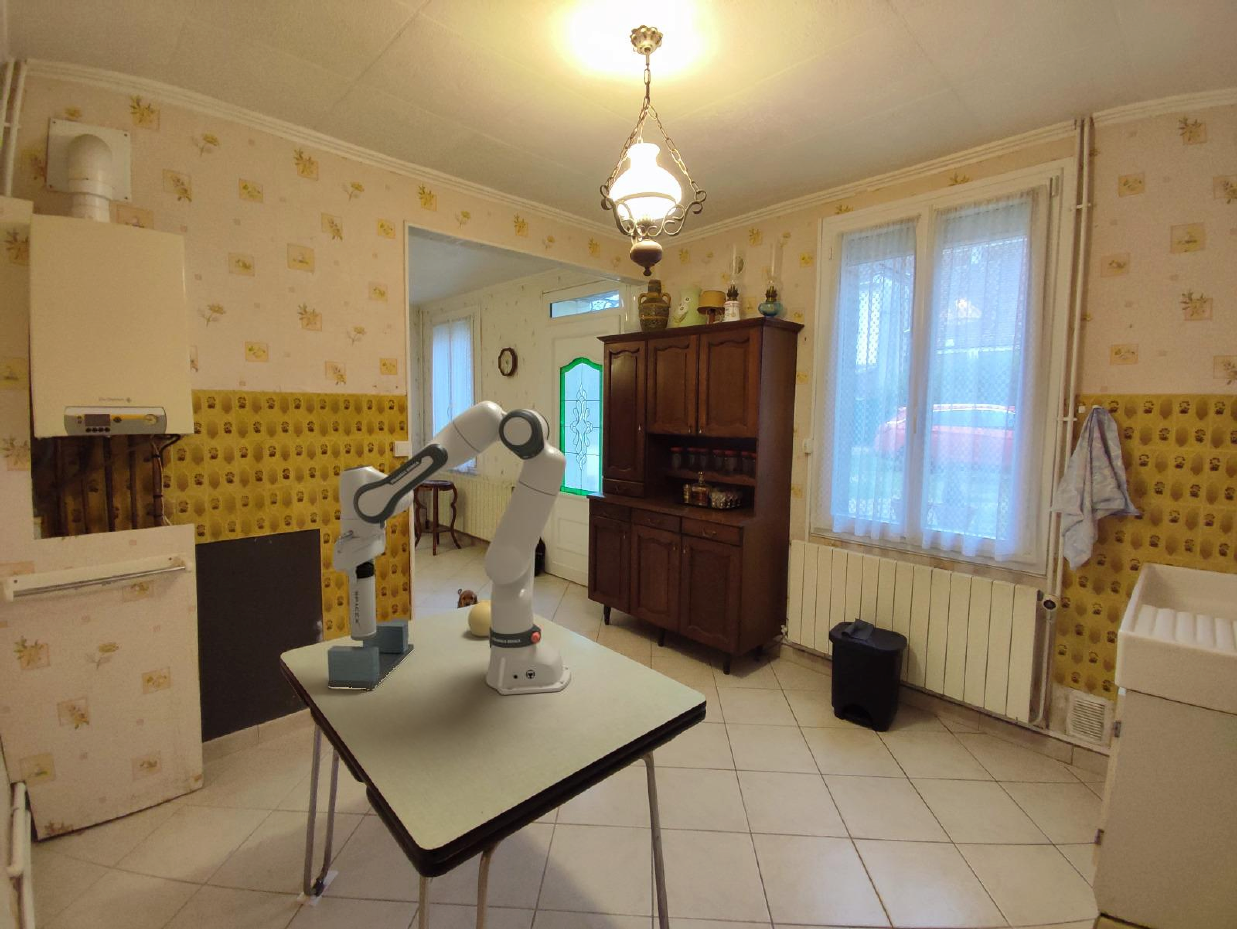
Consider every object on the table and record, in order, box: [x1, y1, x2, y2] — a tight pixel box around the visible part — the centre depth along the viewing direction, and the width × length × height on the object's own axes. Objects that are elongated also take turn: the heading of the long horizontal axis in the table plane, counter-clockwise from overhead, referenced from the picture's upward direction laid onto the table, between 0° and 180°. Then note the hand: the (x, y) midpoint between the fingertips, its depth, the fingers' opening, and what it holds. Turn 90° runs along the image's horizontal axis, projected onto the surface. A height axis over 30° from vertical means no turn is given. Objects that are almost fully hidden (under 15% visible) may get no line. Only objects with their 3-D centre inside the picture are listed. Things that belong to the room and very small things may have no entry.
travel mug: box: [348, 561, 377, 642], centre depth 149 cm, size 6×7×20 cm
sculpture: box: [467, 598, 491, 637], centre depth 180 cm, size 11×12×11 cm
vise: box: [326, 643, 415, 690], centre depth 154 cm, size 24×12×10 cm, turn 176°
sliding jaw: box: [362, 618, 410, 653], centre depth 165 cm, size 11×12×8 cm
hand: (361, 578), depth 148 cm, fingers closed on travel mug, 6 cm apart
